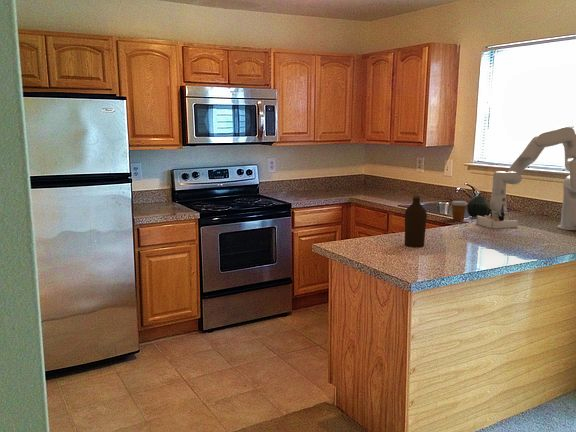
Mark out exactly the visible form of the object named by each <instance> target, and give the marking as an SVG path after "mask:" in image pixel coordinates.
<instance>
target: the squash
mask: <svg viewBox="0 0 576 432" xmlns="http://www.w3.org/2000/svg"><path fill="white" fill-rule="evenodd" d="M489 205H490V201H489V200H488V199H486V198H485V196H484V197H483V196H482V195H480V194H479V195H477V196H474V197H473V198H472V199H471V200H470V201H469V202H468V203H467V205H466V209H467V213H468V215H469V216H470V217H472V218H475V217H476V218H477V216H482V217H484V216H490V211H489Z"/></svg>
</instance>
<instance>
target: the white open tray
mask: <svg viewBox="0 0 576 432" xmlns="http://www.w3.org/2000/svg"><path fill="white" fill-rule="evenodd" d="M475 222H476V223H475V224H476V225H479V226H483V227H485V226H486V228H489V229H507V228H509V229H511V228H518V223H519V222H518V220H517V219H516V220H515V219H514V220H504V221H494V220H493V219H489V218H485V217H482V216H476V221H475Z"/></svg>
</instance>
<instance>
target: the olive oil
mask: <svg viewBox="0 0 576 432" xmlns="http://www.w3.org/2000/svg"><path fill="white" fill-rule="evenodd" d="M412 196H413V197H412V203H411V204H410V205H409V206H408V207H407V208H406V209H405V211H404V245H405V246H406V247H411V248H422V247H424V246H425V237H426V227H427V216H428V214H427V210H426V208H425V207H424V206H423V205H422V204H421V195H420V194H413V195H412Z"/></svg>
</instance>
